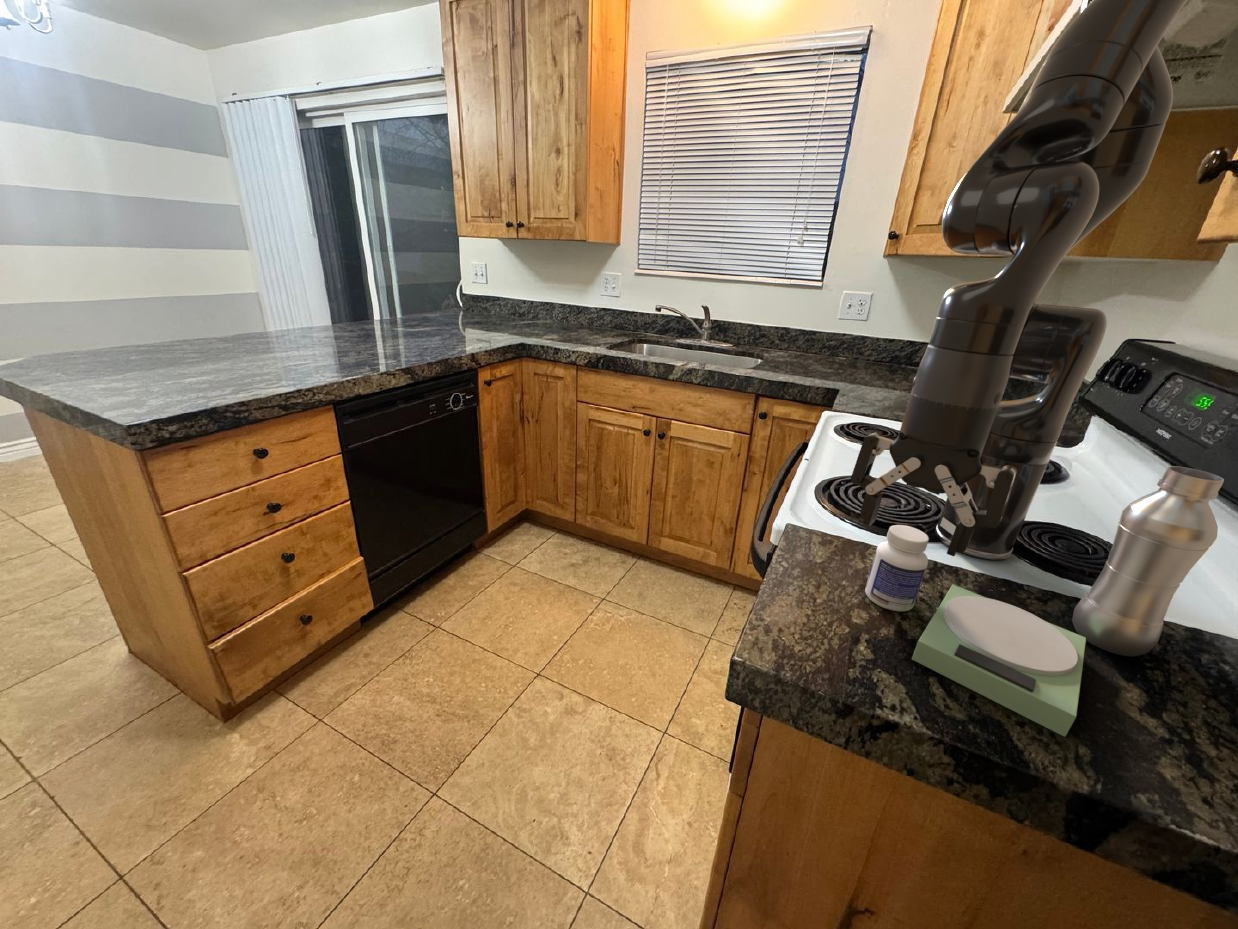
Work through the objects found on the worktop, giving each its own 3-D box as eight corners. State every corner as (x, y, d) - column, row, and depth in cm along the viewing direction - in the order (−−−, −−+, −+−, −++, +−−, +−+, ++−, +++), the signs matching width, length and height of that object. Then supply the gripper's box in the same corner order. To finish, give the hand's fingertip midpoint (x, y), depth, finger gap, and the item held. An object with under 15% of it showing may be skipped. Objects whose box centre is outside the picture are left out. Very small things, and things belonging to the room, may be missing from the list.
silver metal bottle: (1164, 671, 50) (1274, 492, 43) (1088, 658, 51) (1182, 482, 44) (1118, 629, 56) (1207, 465, 48) (1051, 618, 57) (1128, 457, 50)
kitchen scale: (946, 600, 59) (954, 579, 58) (1076, 655, 52) (1088, 632, 50) (911, 659, 50) (920, 635, 48) (1065, 737, 42) (1079, 711, 41)
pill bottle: (922, 614, 56) (946, 547, 53) (876, 611, 56) (897, 544, 53) (898, 586, 61) (919, 523, 58) (856, 583, 61) (874, 520, 58)
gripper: (1048, 406, 48) (989, 552, 54) (890, 377, 56) (855, 505, 62) (1039, 418, 42) (976, 578, 48) (867, 385, 51) (831, 523, 57)
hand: (908, 537), depth 55 cm, fingers open, 8 cm apart
